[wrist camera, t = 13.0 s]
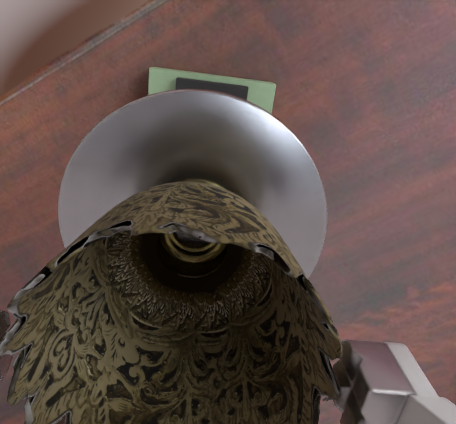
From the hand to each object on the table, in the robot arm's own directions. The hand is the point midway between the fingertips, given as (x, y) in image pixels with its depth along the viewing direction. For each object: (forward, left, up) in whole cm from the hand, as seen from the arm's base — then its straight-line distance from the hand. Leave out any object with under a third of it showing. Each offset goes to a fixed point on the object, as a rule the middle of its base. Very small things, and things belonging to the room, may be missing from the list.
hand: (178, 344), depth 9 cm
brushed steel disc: (0, 0, -8) cm, 8 cm away
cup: (0, 0, -7) cm, 7 cm away
